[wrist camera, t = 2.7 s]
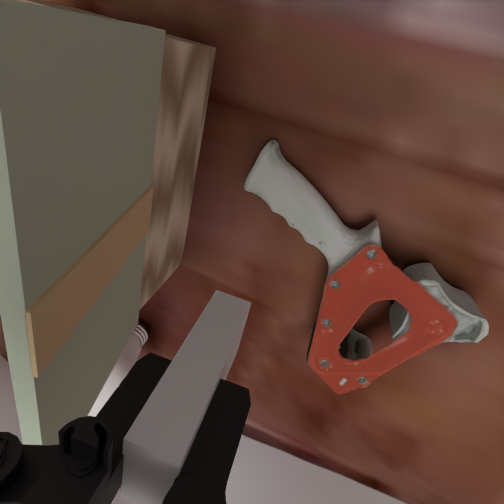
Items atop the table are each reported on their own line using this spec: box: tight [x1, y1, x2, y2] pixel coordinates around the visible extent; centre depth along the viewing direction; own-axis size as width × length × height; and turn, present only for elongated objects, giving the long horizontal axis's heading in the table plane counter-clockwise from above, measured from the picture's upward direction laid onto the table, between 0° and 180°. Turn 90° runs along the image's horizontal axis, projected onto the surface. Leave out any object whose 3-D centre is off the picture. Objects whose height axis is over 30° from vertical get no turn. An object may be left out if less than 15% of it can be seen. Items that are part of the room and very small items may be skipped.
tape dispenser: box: [244, 140, 489, 394], centre depth 27 cm, size 18×5×20 cm
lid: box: [0, 0, 166, 445], centre depth 16 cm, size 19×11×1 cm
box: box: [14, 0, 216, 310], centre depth 26 cm, size 18×11×8 cm, turn 166°
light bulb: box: [88, 322, 149, 417], centre depth 34 cm, size 7×7×11 cm
